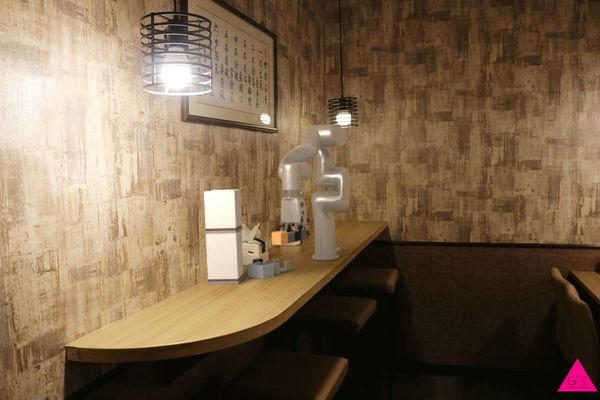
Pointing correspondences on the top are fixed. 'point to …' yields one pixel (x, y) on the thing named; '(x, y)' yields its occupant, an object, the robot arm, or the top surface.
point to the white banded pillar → (223, 236)
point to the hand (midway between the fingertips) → (293, 240)
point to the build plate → (258, 260)
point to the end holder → (260, 270)
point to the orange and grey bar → (286, 237)
